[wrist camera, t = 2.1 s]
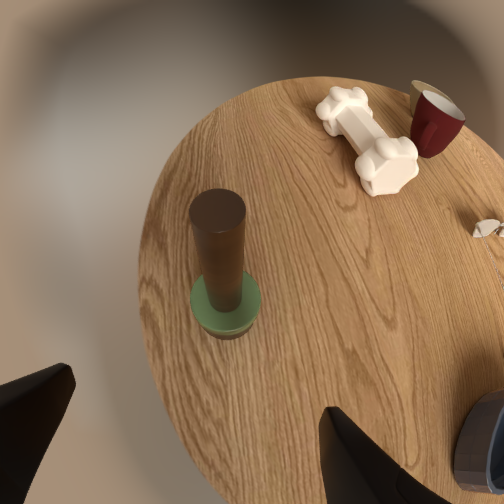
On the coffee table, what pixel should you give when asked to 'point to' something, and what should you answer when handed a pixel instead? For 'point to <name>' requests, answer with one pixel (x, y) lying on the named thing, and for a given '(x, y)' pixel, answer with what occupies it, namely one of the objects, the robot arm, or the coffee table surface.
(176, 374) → the coffee table surface
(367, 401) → the coffee table surface
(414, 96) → the flower pot
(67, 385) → the robot arm
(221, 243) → the brush
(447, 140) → the mug
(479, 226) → the eyeglasses
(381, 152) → the dog bone
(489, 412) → the bowl
